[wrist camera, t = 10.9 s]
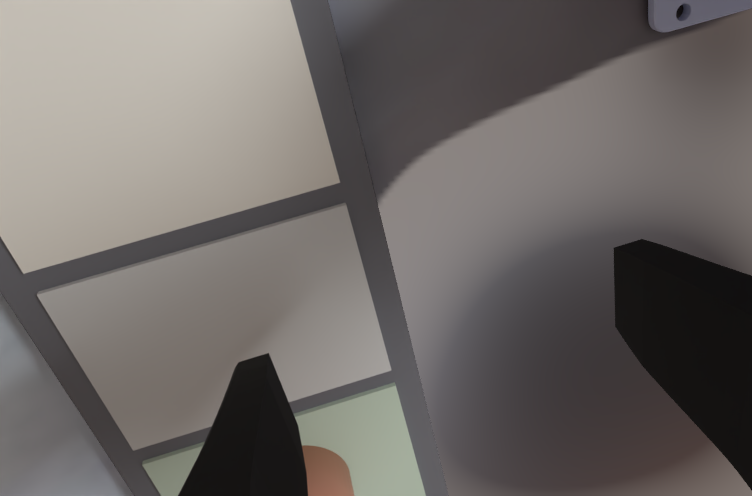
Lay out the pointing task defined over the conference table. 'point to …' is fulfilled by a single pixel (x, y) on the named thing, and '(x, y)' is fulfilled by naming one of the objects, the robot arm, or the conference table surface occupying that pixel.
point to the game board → (202, 231)
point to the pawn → (326, 473)
